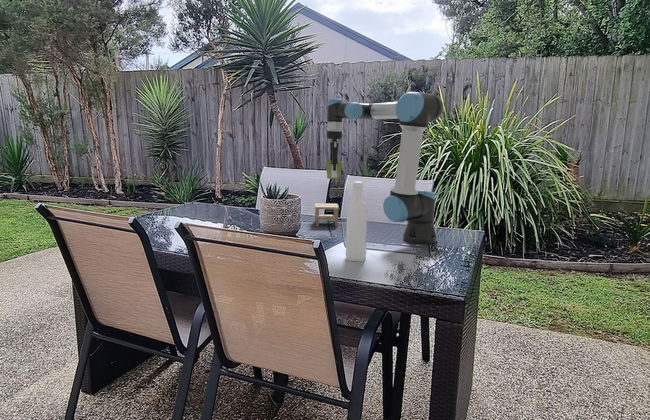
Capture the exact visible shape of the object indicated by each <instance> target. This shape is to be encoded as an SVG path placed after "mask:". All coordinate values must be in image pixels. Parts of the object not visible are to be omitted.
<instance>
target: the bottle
mask: <svg viewBox="0 0 650 420" xmlns="http://www.w3.org/2000/svg"><path fill="white" fill-rule="evenodd" d="M363 188H364V185H363V182H362V181H353V182H352V200H351V201H350V202H349V203H348V205H347V207H346V232H345V233H346V235H345V239H346V240H345V259H346V260H347V261H350V262H364V261H365V260H366V259H367V233H368V232H367V231H368V230H367V229H368V227H367V226H368V225H367V224H368V208H367V203H365V202H364V201H363Z"/></svg>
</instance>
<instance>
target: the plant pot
mask: <svg viewBox="0 0 650 420" xmlns="http://www.w3.org/2000/svg"><path fill="white" fill-rule="evenodd" d="M331 162H332V161H330V160H325V161H324V164H325V167H326V168H325V170H326V178H327V179H329V180H334V179H335V180H339V179H340V178H341V176H340V175H341V169H342V166H343V163H344V161H340V160H338V163H337V177H331V168H332V164H331Z"/></svg>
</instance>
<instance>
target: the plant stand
mask: <svg viewBox="0 0 650 420" xmlns="http://www.w3.org/2000/svg"><path fill="white" fill-rule="evenodd" d="M339 209H340V207H339V204H338V203H330V202H328V203H314V218H315V219H314V222H315V227H319V225H320V224H319V223H320V221H333V223H334V226H335V227H339ZM320 210H333V214H320Z"/></svg>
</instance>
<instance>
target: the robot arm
mask: <svg viewBox="0 0 650 420" xmlns="http://www.w3.org/2000/svg"><path fill="white" fill-rule="evenodd" d="M326 109H327V116H326V118H327V119H326V121H327V123H325V126H326V127H327V128H326V130H327V131H326V139H328V140H331V141H330V142H329V146H330V147H329V151H330V155H329V161H332V162H331V164H332V168H331V177H337V163H338V161H339V160H338V158H339V157H338V156H339V155H338V154H339V153H338V151H339V142H338V140H341V139H343V137H342V136H343V132H342V130H343V119H344V120H345V119H348V120H370V121H371V120H374V121H375V120H393V119H396V120H397V119H398V120H399V126H400V128H401V137H400V143H399V144H400V145H399V150H398V153H399V154H398V160H397V167H396V174H395V182H394V186H392V187H391V188H390V192H389V195H388V196H387V197H386V198H384V200H383V203H382V204H383V205H382V207H383V208H382V209H383V213H384V215H385V216H386V217H387V219H388V220H389V221H391V222H393V223H404V222H407V223H406V225H405V228H404V230H403V234H402V240H403V241H405V242H408V243H412V244H417V245H418V244H419V245H420V244H421V245H423V244H424V245H427V244H434V243H436V242H437V237H438V236H437V232H436V228H435V223H434V222H435V221H434V218H435V206H436V194H435V192H434V191H430V190H422V189H416V184H417V176H418V169H419V163H420V157H421V150H422V142H423V136H424V131H426V130H427V129H428V126H429V123H432V122H435V121H436V120H439V118H440V117H441V116H442V113H443V111H444V104H443V101H442V99H441V98H440V96H438V95H436V94H433V93H426V92H417V91H414V92H413V91H409V92H406V93H404V94H402V96H400V97H399V99H398V100H397V101H393V102H389V101H388V102H377V103H360V102H356V101H355V102H354V101H350V102H344V99H343V98H328V100H327V108H326Z"/></svg>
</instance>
